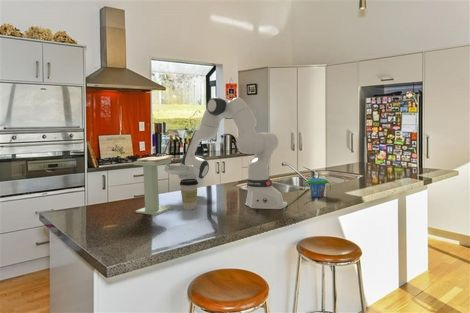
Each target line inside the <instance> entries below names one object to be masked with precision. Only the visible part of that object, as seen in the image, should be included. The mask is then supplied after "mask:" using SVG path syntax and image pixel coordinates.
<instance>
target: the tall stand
mask: <svg viewBox="0 0 470 313" xmlns="http://www.w3.org/2000/svg"><path fill="white" fill-rule="evenodd" d="M167 163H169V164H171V163H172V160H171V159H170V160H166V161H161V162H156V163H155V162H137V161H133V164H132V165H133V166H142V169H143V189H144V190H143V192H144V193H143V194H144V207H142V208H139V209H136V210H135V213H136V214H145V215H153V216H158V215H160V214H164V213H166V212H168V211H171V210H173V209H174V207H173V206H171V205H168V206H167V205H160V204H159V203H160V198H159V178H158V177H159V175H158V166H161V165H166V164H167ZM170 209H171V210H170Z"/></svg>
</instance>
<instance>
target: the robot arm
mask: <svg viewBox="0 0 470 313" xmlns="http://www.w3.org/2000/svg"><path fill="white" fill-rule="evenodd" d="M223 119H225V120H231V119H232V120H233V122H234V124H235V125H236V128H237V130H238V132H239V133H238V134H239V136H238V137H237V140H236V148H237V150H238V152H240V153H241V154H247V155H253V154H254V156H253V158H252V160H250V161H249V163H248V165H247V178H246V181H247V182H246V186H247V188H246V189H247V195H246V200H245V205H246V206H247V207H249V208H250V209H261V210H263V209H264V210H266V209H267V210H281V209H284V208H286V207H287V206H288V202H286V201H284V199H283V194H282V193H281V191H279V190H278V189H277V188H275V187H274V186H273V179H270V178H269V166H270V165H269V164H270V161H271V158H272V155H273V153H274V151H275V150H276V149H277V148H278V146H279V140H278V139H279V138H278V137H277V135H276V134H274V133H273V132H267V131H266V132H265V131H264V132H257V131H256V129H255V128H256V127H257V125H258V124H257V123H258V122H257V121H258V120H257V118H256V117H255V115H254V113H253V112H252V109H251V108H250V107H249V105H248V104H247V103H246V101H245V100H244V99H243V98H242V97H234V98H232V99H228V98H225V97H219V96H218V97H217V96H214V97H211V98H209V100H208V102H207V104H206V109H205V110H204V113H203V114H202V119H201V122H200V125H199V127H198V129H196V130H195V131H194V132H193V134H192V136H191V138H190V140H189V143H188V144H187V148H186V151H185V153H184V154H183V157H181V158H182V159H181V163H180V165H179V164H178V165H177V164H171V163H167V164H164V169H163V170H164V172H165V173H167V174H169V175H172V176H178V178H179V179H180V181H181V180H183V179H196V180H197V182H198V185H197V189H198V188H202V186H203V185H204V183H205V177H206V176H207V174H208V173H209V170H210V165H209V162H208V160H206V159H203V158H200V157H198V156H196V155H195V153H196V152H197V149H198V146H199V144H200V142H204V141H209V140H213V139H214V138H216V137H217V134H218V133H219V128H220V125H221V124H220V123H221V120H223Z"/></svg>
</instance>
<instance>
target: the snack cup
mask: <svg viewBox="0 0 470 313" xmlns="http://www.w3.org/2000/svg"><path fill="white" fill-rule="evenodd" d="M306 183H307V184H308V187H309V192H310V196H311V198H323V197H324V196H325V190H326V183H328V184H329V192H331V189H332V186H331V182H330V181H329V180H327V179H326V178H321V177H311V178H308V179H307V180H306V181H305V182H304V183H303V190H304V192H305V191H306V188H305V186H306V185H305V184H306Z"/></svg>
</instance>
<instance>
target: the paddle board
mask: <svg viewBox="0 0 470 313" xmlns="http://www.w3.org/2000/svg"><path fill="white" fill-rule="evenodd" d="M173 158H174V155H173V154H171V155H169V154H168V155H162V156H160V155H159V156H148V157H143V158H137V159H136V162H155V163H156V162H161V161H166V160H171V159H173Z"/></svg>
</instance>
